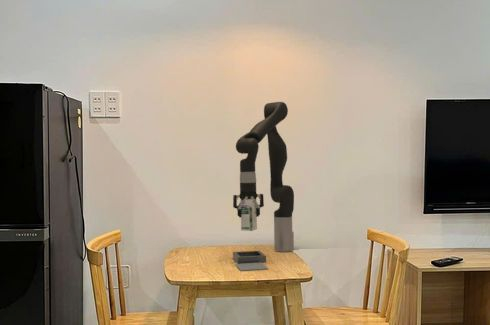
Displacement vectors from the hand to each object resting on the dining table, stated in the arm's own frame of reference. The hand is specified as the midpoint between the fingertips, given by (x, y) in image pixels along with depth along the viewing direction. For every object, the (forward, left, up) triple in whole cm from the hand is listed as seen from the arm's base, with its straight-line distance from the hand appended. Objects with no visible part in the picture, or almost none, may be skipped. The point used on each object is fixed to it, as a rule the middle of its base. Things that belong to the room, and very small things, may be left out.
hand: (248, 216), depth 226 cm
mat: (+2, +14, -20) cm, 25 cm away
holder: (0, 0, -20) cm, 20 cm away
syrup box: (0, 0, -6) cm, 6 cm away
